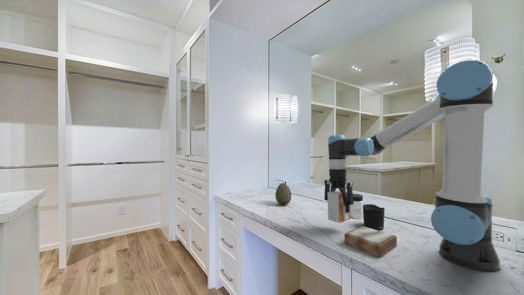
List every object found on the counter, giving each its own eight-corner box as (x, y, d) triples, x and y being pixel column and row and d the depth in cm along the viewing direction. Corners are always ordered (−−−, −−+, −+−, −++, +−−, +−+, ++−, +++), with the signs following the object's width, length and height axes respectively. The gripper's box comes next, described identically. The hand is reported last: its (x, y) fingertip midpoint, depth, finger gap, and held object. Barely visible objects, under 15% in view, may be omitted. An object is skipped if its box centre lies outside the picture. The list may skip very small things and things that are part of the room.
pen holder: (364, 229, 101) (363, 208, 101) (362, 222, 110) (361, 203, 109) (386, 232, 97) (386, 210, 97) (382, 224, 106) (382, 205, 106)
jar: (349, 218, 116) (349, 196, 116) (344, 213, 124) (344, 193, 124) (366, 218, 115) (366, 197, 115) (360, 214, 123) (360, 193, 123)
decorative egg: (276, 202, 149) (275, 181, 149) (291, 203, 148) (291, 181, 148) (274, 207, 139) (274, 184, 139) (291, 207, 137) (291, 184, 137)
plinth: (396, 246, 84) (396, 235, 84) (380, 257, 75) (380, 245, 75) (362, 234, 95) (361, 225, 95) (344, 243, 86) (344, 233, 86)
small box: (339, 223, 94) (338, 194, 94) (327, 219, 99) (326, 192, 99) (350, 219, 98) (349, 191, 98) (338, 216, 103) (337, 189, 104)
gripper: (361, 168, 93) (363, 221, 93) (324, 166, 109) (326, 211, 108) (352, 170, 89) (354, 225, 88) (315, 167, 104) (316, 214, 104)
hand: (338, 217), depth 98 cm, fingers closed on small box, 6 cm apart
